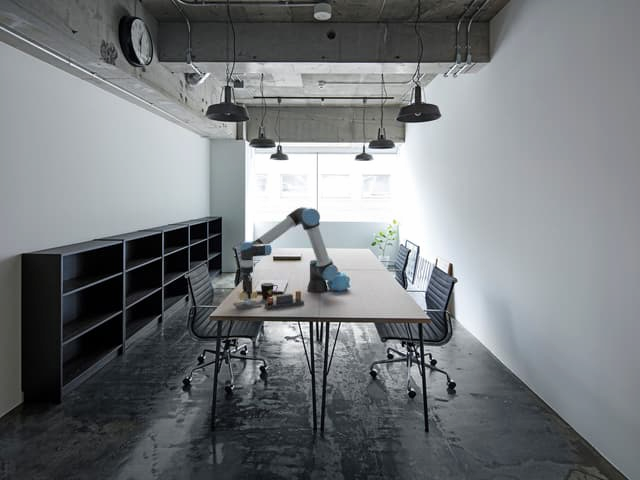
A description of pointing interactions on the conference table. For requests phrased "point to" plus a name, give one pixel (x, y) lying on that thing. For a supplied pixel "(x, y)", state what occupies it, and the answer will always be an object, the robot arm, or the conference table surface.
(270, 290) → the coffee mug
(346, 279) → the decorative pot
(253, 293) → the tan rectangular brick
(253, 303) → the rubber mat
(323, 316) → the conference table surface
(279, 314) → the conference table surface
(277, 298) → the hand plane
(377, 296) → the conference table surface
